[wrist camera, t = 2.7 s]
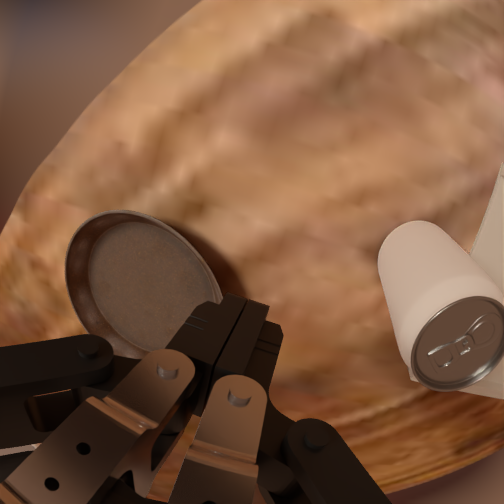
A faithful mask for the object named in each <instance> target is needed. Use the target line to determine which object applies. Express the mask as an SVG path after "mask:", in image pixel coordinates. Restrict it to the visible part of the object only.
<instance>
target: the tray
mask: <svg viewBox="0 0 504 504" xmlns="http://www.w3.org/2000/svg"><path fill="white" fill-rule="evenodd" d="M469 256H470V257H471V258H472V259H473V260H474V261H475V262H476V263H477V264H478V265H479V266H480V267H481V268H482V269H483V270H484V271H485V272H486V273H487V275H488V276H489V277H490V278H491V279H492V280H493V281H494V283H495V284H496V285H497V286H498V288H499V289H500V291H501V292H502V294H503V297H504V163H501V167H500V170H499V174H498V177H497V180H496V183H495V187H494V190H493V193H492V196H491V199H490V202H489V204H488V207H487V210H486V213H485V215H484V218H483V221H482V223H481V226H480V229H479V231H478V234H477V236H476V239H475V241H474V243H473V246H472V248H471V251H470V253H469ZM408 371H409V375H410V380H413V381H417V382H419V381H418V380H417V379H416V378H415V376H414V374H413V371H412V370H411V369H410V368H409V367H408ZM457 391H462V392H467V393H472V394H477V395H482V396H487V397H493V398H498V399H504V356H503V358H502V360H501V361H500V362H499V364H498V365H497V366H496V367H495V368H494V370H493V371H492V372H490V373H489V374H488V375H487V376H486V377H484V378H483V379H482V380H480V381H479V382H477V383H475V384H473V385H471V386H469V387H467V388H464V389H461V390H457Z"/></svg>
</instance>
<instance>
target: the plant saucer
mask: <svg viewBox="0 0 504 504" xmlns="http://www.w3.org/2000/svg"><path fill="white" fill-rule="evenodd" d="M65 281H66V287H67V291H68V295H69V299H70V301H71V304H72V307H73V309H74V311H75V313H76V315H77V317H78V319H79V321H80V323H81V324H82V326H83V327H84V329H85V330H86V332H87V333H88V334H93V335H97V336H100V337H102V338H104V339H106V340H107V341H108V342H109V343H110V344H111V345H112V347H113V351H114V355H118V356H123V357H128V358H134V359H143V358H144V357H145V356H146V355H147V354H148V353H150V352H152V351H155V350H159V349H165V347H166V346H167V345H168V343H169V342H170V341H171V339H172V338H173V337H174V335H175V334H176V333H177V331H178V330H179V329H180V327H181V326H182V325H183V324H184V323H185V321H186V320H187V318H188V317H190V314H191V313H192V312H193V310H194V309H195V308H196V306H198V305H200V304H202V303H204V302H206V301H211V302H213V303H216V304H220V302H221V301H222V299H223V296H222V293H221V290H220V287H219V285H218V282H217V280H216V278H215V276H214V274H213V272H212V270H211V269H210V267H209V265H208V264H207V262H206V261H205V260H204V258H203V257H202V255H201V254H200V253H199V252H198V251H197V249H196V248H195V247H194V246H193V245H192V244H191V243H190V242H189V241H188V240H187V239H186V238H185V237H183V236H182V235H181V234H180V233H179V232H177V231H176V230H175V229H173V228H172V227H170V226H168V225H167V224H165V223H163V222H161V221H160V220H157V219H155V218H153V217H151V216H148V215H146V214H142V213H139V212H135V211H129V210H110V211H105V212H102V213H99V214H96V215H94V216H92V217H90V218H89V219H87V220H86V221H85V222H84V223H82V224H81V225H80V226H79V228H78V229H77V230H76V232H75V233H74V235H73V237H72V238H71V240H70V243H69V245H68V249H67V252H66V258H65Z"/></svg>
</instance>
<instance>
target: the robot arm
mask: <svg viewBox="0 0 504 504" xmlns="http://www.w3.org/2000/svg"><path fill="white" fill-rule="evenodd" d="M247 302H248V303H247ZM269 307H270V306H268V305H265V304H262V303H259V302H256V301H253V300H250V299H249V301H248V299H246V298H243V297H241V296H238V295H235V294H232V293H229V292H227V293H226V295H225V296H224V298H223V299H222V301H221V302H220V304H216V303H213V302H211V301H206V302H204V303H202V304H200V305H198V306H196V308H195V309H194V310H193V312H192V313H191V314H190V317H188V318H187V320H186V321H185V323H184V324H183V325H182V326H181V327H180V329H179V330H178V331H177V333H176V334H175V335H174V337H173V338H172V339H171V341H170V342H169V343H168V345H167V346H166V347H165V349H159V350H155V351H152V352H150V353H148V354H147V355H146V356H145V357H144V358H143V359H134V358H128V357H123V356H118V355H114V351H113V347H112V345H111V344H110V343H109V342H108V341H107V340H106V339H104V338H102V337H100V336H97V335H93V334H83V335H77V336H71V337H65V338H58V339H52V340H46V341H39V342H33V343H26V344H19V345H12V346H5V347H0V449H5V448H12V447H19V446H25V445H31V444H37V443H41V444H40V445H39V446H38V447H37V448H36V449H35V450H34V451H25V452H20V453H14V454H9V455H3V456H0V504H392V503H391V502H390V501H389V499H388V498H387V497H386V496H385V494H384V493H383V492H382V490H381V489H380V488H379V486H378V485H377V484H376V483H375V481H374V480H373V479H372V477H371V476H370V475H369V473H368V472H367V471H366V469H365V468H364V467H363V466H362V464H361V463H360V462H359V460H358V459H357V458H356V456H355V455H354V454H353V452H352V451H351V450H350V448H349V447H348V446H347V444H346V443H345V442H344V440H343V439H342V438H341V436H340V435H339V433H338V432H337V431H336V430H335V429H334V428H333V427H332V426H331V425H329V424H328V423H326V422H324V421H321V420H318V419H312V418H307V419H301V420H299V421H297V422H295V421H293V420H291V419H289V418H288V417H286V416H284V415H283V414H281V413H280V412H279V411H278V410H277V409H276V408H275V407H274V406H273V404H272V403H271V401H270V398H269V386H270V383H271V379H272V376H273V372H274V369H275V365H276V362H277V358H278V354H279V351H280V347H281V343H282V340H283V333H282V330H281V327H280V325H279V324H276V323H273V322H269V321H266V317H267V313H268V310H269ZM68 389H71V390H69V391H64V392H59V393H53V394H48V395H42V396H36V395H41V394H47V393H52V392H58V391H63V390H68ZM34 396H36V397H34ZM204 409H205V410H204ZM203 412H204V413H203ZM192 414H194V415H197V416H199V417H201V416H202V414H203V416H202V418H201V421H200V424H199V427H198V429H197V432H196V435H195V437H194V440H193V443H192V445H190V447H189V448H188V451H187V453H186V456H185V458H184V461H183V463H182V466H181V469H180V471H179V474H178V477H177V479H176V482H175V485H174V487H173V490H172V492H171V495H170V498H169V500H168V503H167V502H161V501H156V500H152V499H147V498H146V496H147V494H148V492H149V490H150V488H151V485H152V482H153V480H154V478H155V476H156V474H157V473H158V471H159V470H160V468H161V467H162V465H163V464H164V462H165V461H166V459H167V458H168V456H169V455H170V453H171V452H172V450H173V449H174V447H175V446H176V444H177V443H178V441H179V439H180V438H181V436H182V435H183V433H184V430H185V427H186V426H187V424H188V422H189V420H190V418H191V416H192Z"/></svg>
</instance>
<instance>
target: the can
mask: <svg viewBox="0 0 504 504" xmlns="http://www.w3.org/2000/svg"><path fill="white" fill-rule="evenodd" d="M378 271H379V275H380V279H381V283H382V287H383V290H384V294H385V298H386V301H387V305H388V309H389V313H390V316H391V320H392V324H393V328H394V332H395V336H396V340H397V344H398V348H399V351H400V354H401V356H402V359H403V360H404V362H405V364H406V365H407V366H408V367H409V368H410V369H411V370H412V371H413V374H414V376H415V378H416V379H417V380H418V381H419V382H420V383H421V384H422V385H423V386H425V387H427V388H429V389H431V390H435V391H441V392H450V391H457V390H461V389H464V388H467V387H469V386H471V385H473V384H475V383H477V382H479V381H480V380H482V379H483V378H484V377H486V376H487V375H488V374H489V373H490V372H492V371H493V370H494V368H495V367H496V366H497V365H498V364H499V362H500V361H501V360H502V358H503V356H504V297H503V294H502V292H501V291H500V289H499V288H498V286H497V285H496V284H495V283H494V281H493V280H492V279H491V278H490V277H489V276H488V275H487V273H486V272H485V271H484V270H483V269H482V268H481V267H480V266H479V265H478V264H477V263H476V262H475V261H474V260H473V259H472V258H471V257H470V256H469V255H468V254H467V253H466V252H465V251H464V250H463V249H462V248H461V247H460V246H459V245H458V244H457V243H456V242H455V241H454V240H453V239H452V238H451V237H450V236H449V235H448V234H447V233H445V232H444V231H443V230H442V229H441V228H440V227H438V226H437V225H435V224H433V223H430V222H427V221H411V222H407V223H405V224H402V225H400V226H399V227H397V228H396V229H394V230H393V231H392V232H391V233H390V234H389V235H388V236H387V238H386V239H385V240H384V242H383V244H382V246H381V248H380V251H379V255H378Z"/></svg>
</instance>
